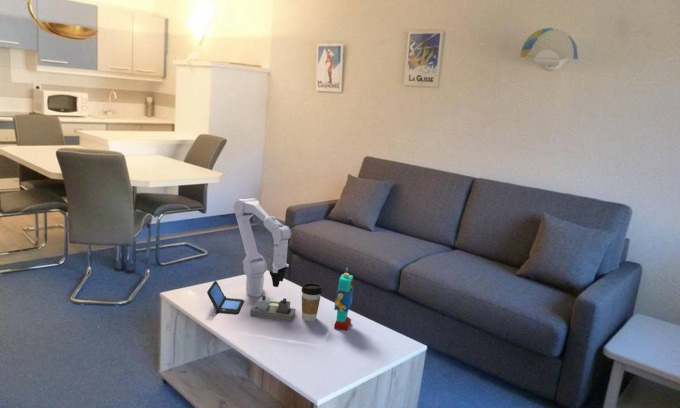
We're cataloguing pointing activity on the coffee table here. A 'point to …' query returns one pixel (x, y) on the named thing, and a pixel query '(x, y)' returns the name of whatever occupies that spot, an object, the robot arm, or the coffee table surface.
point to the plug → (263, 303)
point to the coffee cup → (310, 301)
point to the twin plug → (284, 306)
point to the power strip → (272, 313)
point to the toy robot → (343, 301)
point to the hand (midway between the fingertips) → (277, 283)
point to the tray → (273, 303)
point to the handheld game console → (223, 301)
